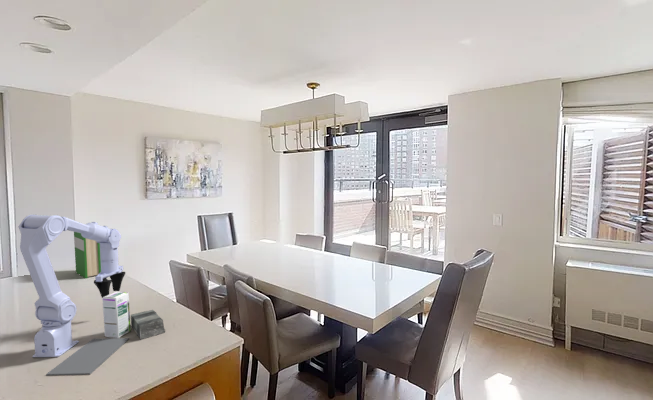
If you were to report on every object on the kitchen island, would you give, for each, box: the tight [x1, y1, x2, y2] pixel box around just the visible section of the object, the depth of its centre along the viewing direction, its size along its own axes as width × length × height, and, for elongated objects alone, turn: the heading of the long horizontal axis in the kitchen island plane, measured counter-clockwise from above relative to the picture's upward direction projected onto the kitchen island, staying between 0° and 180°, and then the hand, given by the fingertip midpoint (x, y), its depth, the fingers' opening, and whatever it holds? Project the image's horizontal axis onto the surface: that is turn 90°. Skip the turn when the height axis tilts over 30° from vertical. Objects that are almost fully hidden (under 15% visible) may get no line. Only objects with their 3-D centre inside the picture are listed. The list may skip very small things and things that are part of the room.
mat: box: [45, 337, 130, 376], centre depth 105 cm, size 20×12×1 cm, turn 3°
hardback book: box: [73, 232, 101, 279], centre depth 190 cm, size 18×7×24 cm, turn 50°
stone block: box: [130, 309, 166, 341], centre depth 123 cm, size 9×14×5 cm, turn 41°
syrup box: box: [101, 291, 132, 338], centre depth 119 cm, size 6×6×14 cm
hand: (111, 294), depth 130 cm, fingers open, 7 cm apart
